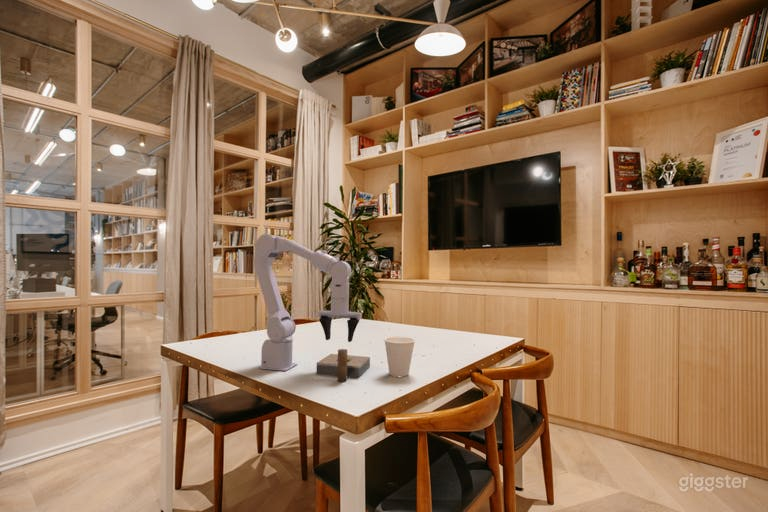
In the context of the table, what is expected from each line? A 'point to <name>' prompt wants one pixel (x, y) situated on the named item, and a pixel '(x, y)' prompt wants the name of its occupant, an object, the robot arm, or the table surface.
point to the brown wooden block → (342, 365)
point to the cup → (399, 354)
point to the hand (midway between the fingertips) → (338, 340)
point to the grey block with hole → (354, 365)
